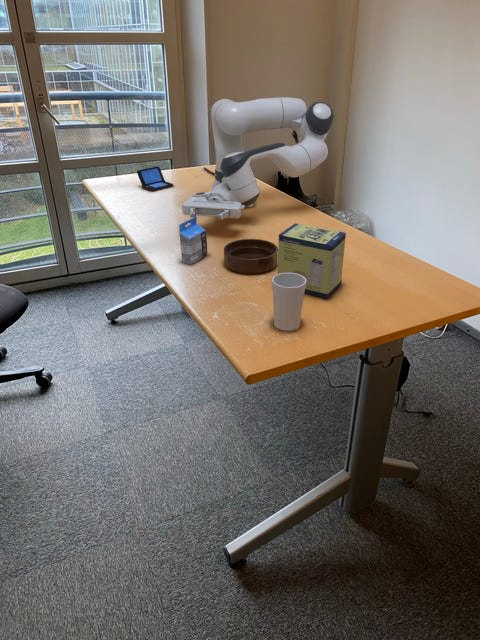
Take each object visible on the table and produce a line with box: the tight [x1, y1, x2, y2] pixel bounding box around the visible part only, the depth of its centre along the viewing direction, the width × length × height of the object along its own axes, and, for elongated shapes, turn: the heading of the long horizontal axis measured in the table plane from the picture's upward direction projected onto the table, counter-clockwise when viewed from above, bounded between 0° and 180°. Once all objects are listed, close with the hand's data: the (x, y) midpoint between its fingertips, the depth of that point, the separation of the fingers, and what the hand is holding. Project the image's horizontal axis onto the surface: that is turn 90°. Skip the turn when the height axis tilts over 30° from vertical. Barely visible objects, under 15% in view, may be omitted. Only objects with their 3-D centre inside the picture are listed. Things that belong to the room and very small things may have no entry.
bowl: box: [223, 238, 278, 275], centre depth 153 cm, size 16×16×5 cm
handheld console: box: [136, 165, 174, 192], centre depth 225 cm, size 12×11×7 cm
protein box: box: [277, 222, 347, 300], centre depth 138 cm, size 10×16×16 cm
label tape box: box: [178, 216, 209, 265], centre depth 155 cm, size 9×4×12 cm, turn 148°
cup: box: [271, 273, 306, 331], centre depth 121 cm, size 8×8×12 cm
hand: (206, 216), depth 165 cm, fingers open, 8 cm apart
